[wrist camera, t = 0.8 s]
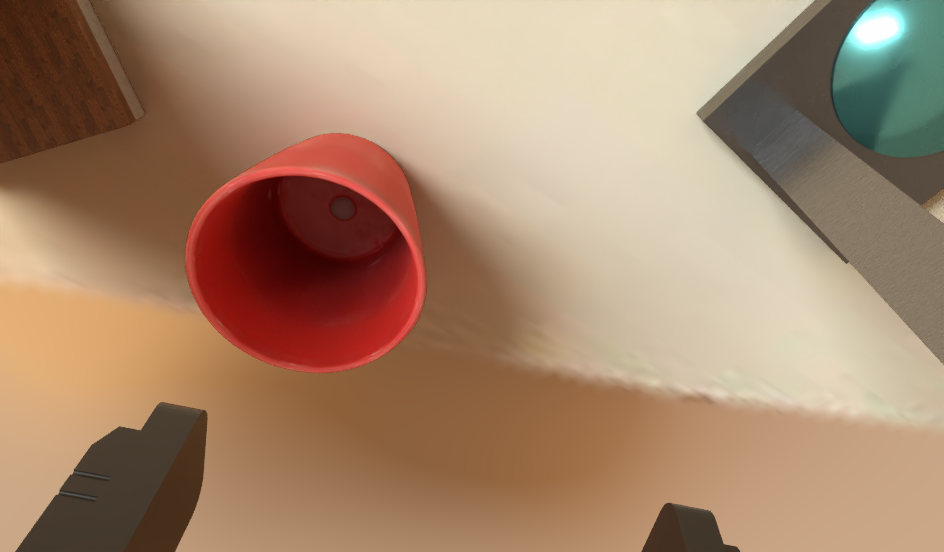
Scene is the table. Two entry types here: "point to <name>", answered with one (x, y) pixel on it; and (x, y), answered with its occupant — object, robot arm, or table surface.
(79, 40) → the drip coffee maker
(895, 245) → the arbor press
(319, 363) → the flower pot
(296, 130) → the table surface
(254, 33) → the table surface
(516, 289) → the table surface
